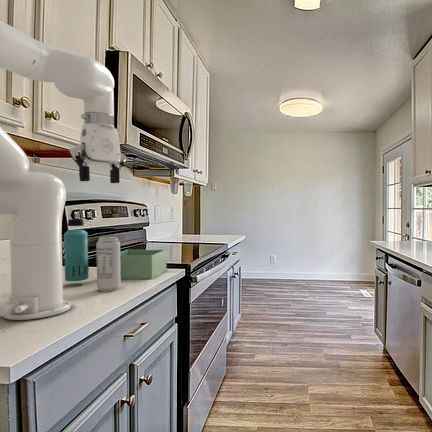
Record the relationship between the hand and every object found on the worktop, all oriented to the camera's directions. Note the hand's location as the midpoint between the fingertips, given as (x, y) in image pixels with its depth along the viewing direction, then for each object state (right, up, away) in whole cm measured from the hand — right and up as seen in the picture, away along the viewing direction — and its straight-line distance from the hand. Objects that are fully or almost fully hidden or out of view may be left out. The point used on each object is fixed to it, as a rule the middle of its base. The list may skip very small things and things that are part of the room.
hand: (100, 182), depth 102 cm
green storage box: (+2, -30, +22) cm, 37 cm away
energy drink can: (+3, -31, 0) cm, 31 cm away
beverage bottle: (-11, -31, +6) cm, 33 cm away
